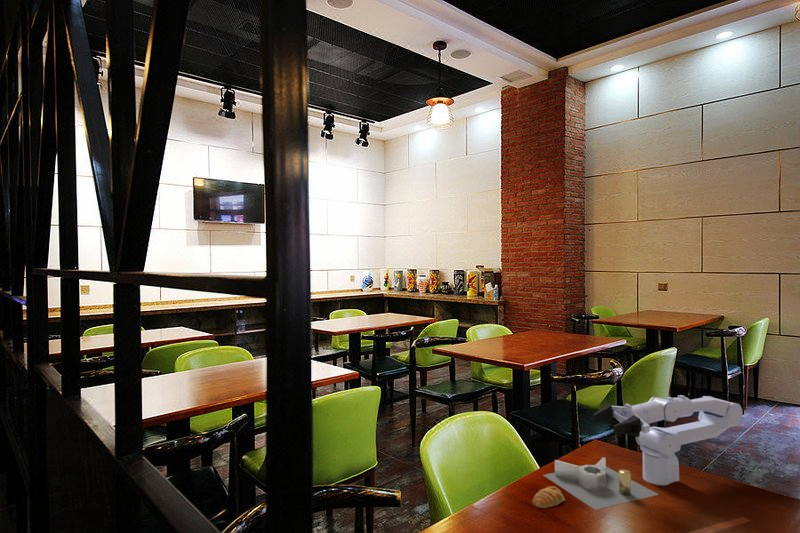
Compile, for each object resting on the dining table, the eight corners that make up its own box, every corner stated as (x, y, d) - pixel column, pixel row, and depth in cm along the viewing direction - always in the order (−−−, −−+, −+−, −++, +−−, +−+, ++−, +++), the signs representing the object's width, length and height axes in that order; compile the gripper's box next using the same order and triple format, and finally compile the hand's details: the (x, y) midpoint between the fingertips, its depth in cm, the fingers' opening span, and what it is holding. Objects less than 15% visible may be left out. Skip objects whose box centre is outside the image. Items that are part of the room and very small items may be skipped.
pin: (624, 489, 134) (624, 468, 134) (633, 494, 131) (633, 473, 131) (616, 491, 133) (616, 470, 133) (625, 496, 130) (624, 475, 130)
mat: (600, 466, 152) (600, 463, 152) (658, 498, 131) (658, 494, 131) (542, 478, 144) (542, 475, 144) (595, 513, 124) (595, 509, 124)
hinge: (595, 466, 149) (594, 452, 149) (628, 484, 137) (627, 469, 137) (554, 474, 144) (553, 460, 144) (584, 494, 132) (584, 478, 132)
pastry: (547, 516, 123) (546, 501, 123) (525, 506, 129) (525, 492, 129) (567, 503, 129) (566, 489, 129) (545, 495, 135) (545, 481, 135)
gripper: (620, 392, 144) (585, 400, 139) (662, 411, 130) (624, 421, 126) (619, 414, 145) (584, 422, 140) (661, 435, 131) (623, 446, 127)
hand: (603, 423), depth 133 cm, fingers open, 7 cm apart
